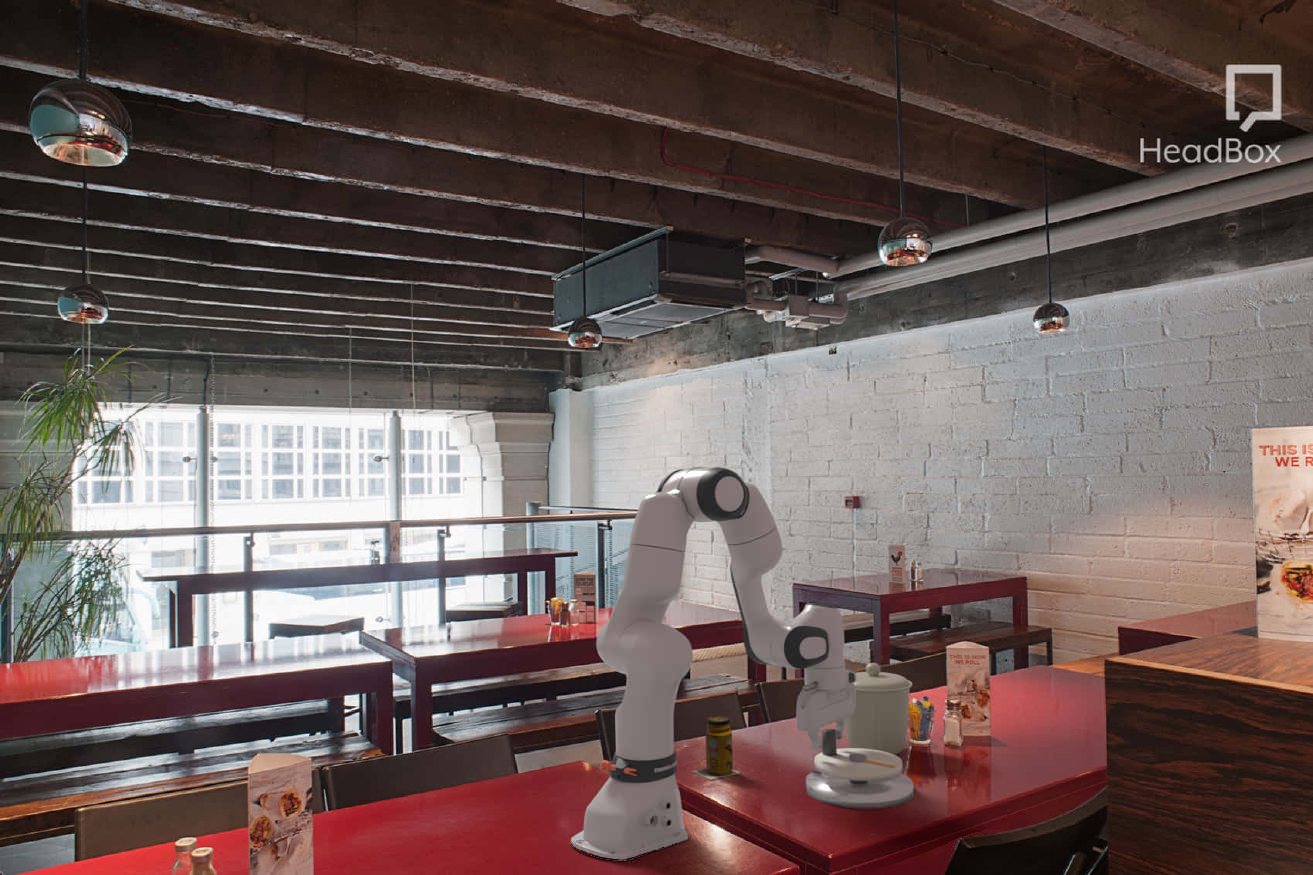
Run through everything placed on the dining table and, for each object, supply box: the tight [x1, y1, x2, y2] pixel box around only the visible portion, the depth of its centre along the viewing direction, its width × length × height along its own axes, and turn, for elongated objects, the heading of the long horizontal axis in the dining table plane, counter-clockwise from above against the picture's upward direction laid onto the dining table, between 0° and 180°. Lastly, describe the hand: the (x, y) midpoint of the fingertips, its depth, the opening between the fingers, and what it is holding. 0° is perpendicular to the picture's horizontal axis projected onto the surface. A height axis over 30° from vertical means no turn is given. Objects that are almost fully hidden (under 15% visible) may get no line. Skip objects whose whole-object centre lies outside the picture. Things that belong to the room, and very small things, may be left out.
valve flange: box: [805, 769, 915, 810], centre depth 184 cm, size 22×22×4 cm
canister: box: [844, 662, 913, 756], centre depth 214 cm, size 18×18×21 cm
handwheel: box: [814, 728, 903, 781], centre depth 185 cm, size 18×18×6 cm
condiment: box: [691, 715, 741, 780], centre depth 200 cm, size 7×8×12 cm
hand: (827, 743), depth 189 cm, fingers open, 8 cm apart
